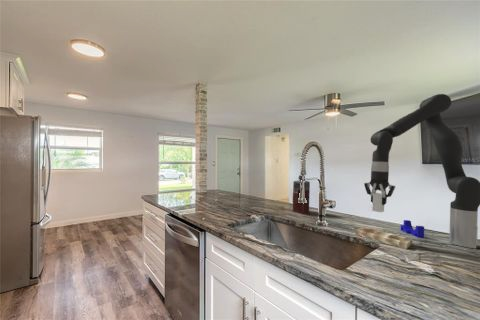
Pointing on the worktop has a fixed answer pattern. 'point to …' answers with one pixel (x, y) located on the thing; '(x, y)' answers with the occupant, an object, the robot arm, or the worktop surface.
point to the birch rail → (384, 237)
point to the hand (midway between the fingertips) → (378, 203)
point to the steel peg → (377, 202)
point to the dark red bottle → (296, 190)
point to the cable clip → (408, 229)
